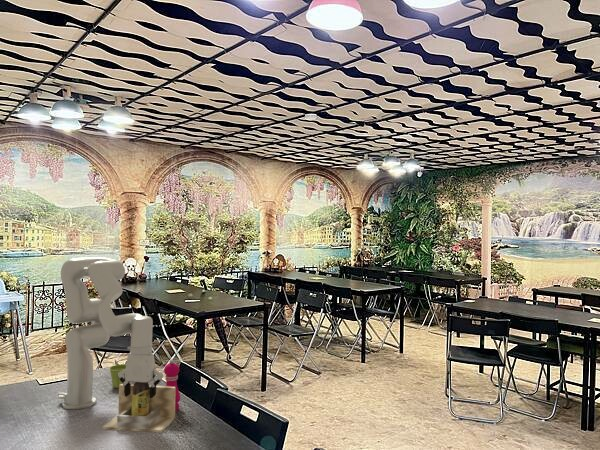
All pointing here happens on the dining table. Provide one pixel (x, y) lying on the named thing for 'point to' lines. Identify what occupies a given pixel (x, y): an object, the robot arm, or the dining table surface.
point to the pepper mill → (172, 379)
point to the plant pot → (116, 374)
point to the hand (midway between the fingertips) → (139, 396)
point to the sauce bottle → (140, 399)
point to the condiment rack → (155, 420)
